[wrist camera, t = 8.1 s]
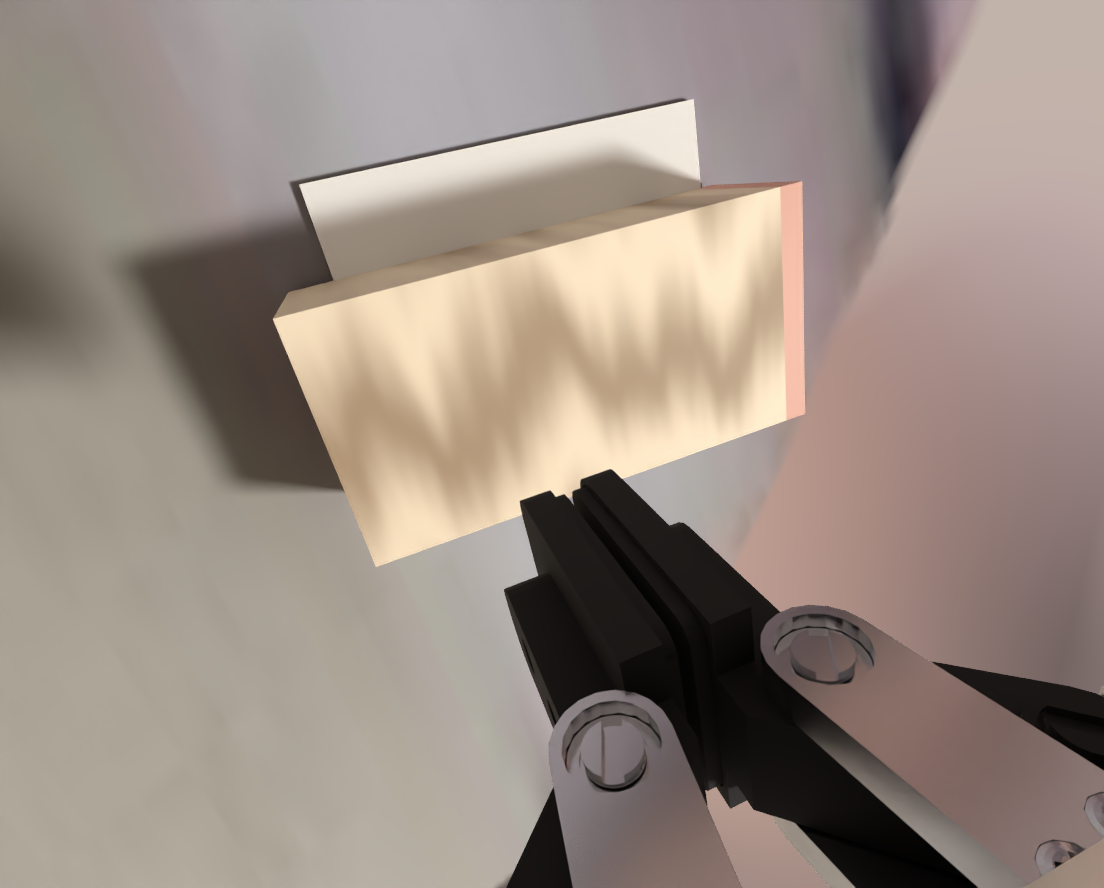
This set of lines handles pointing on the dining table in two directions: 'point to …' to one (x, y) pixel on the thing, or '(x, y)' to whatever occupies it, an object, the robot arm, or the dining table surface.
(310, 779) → the dining table surface
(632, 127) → the pad
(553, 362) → the ash block
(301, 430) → the dining table surface
